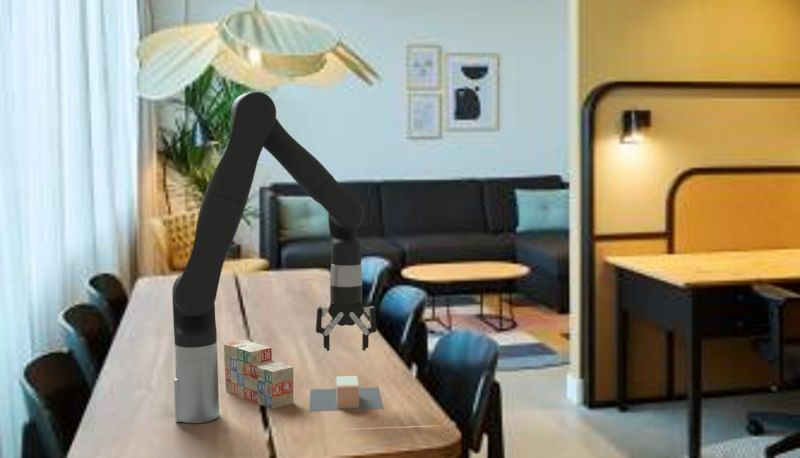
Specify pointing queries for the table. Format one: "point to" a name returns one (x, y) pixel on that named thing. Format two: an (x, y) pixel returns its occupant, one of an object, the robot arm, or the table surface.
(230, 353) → the stack of blocks
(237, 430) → the table surface
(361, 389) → the charcoal mat
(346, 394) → the sage block
